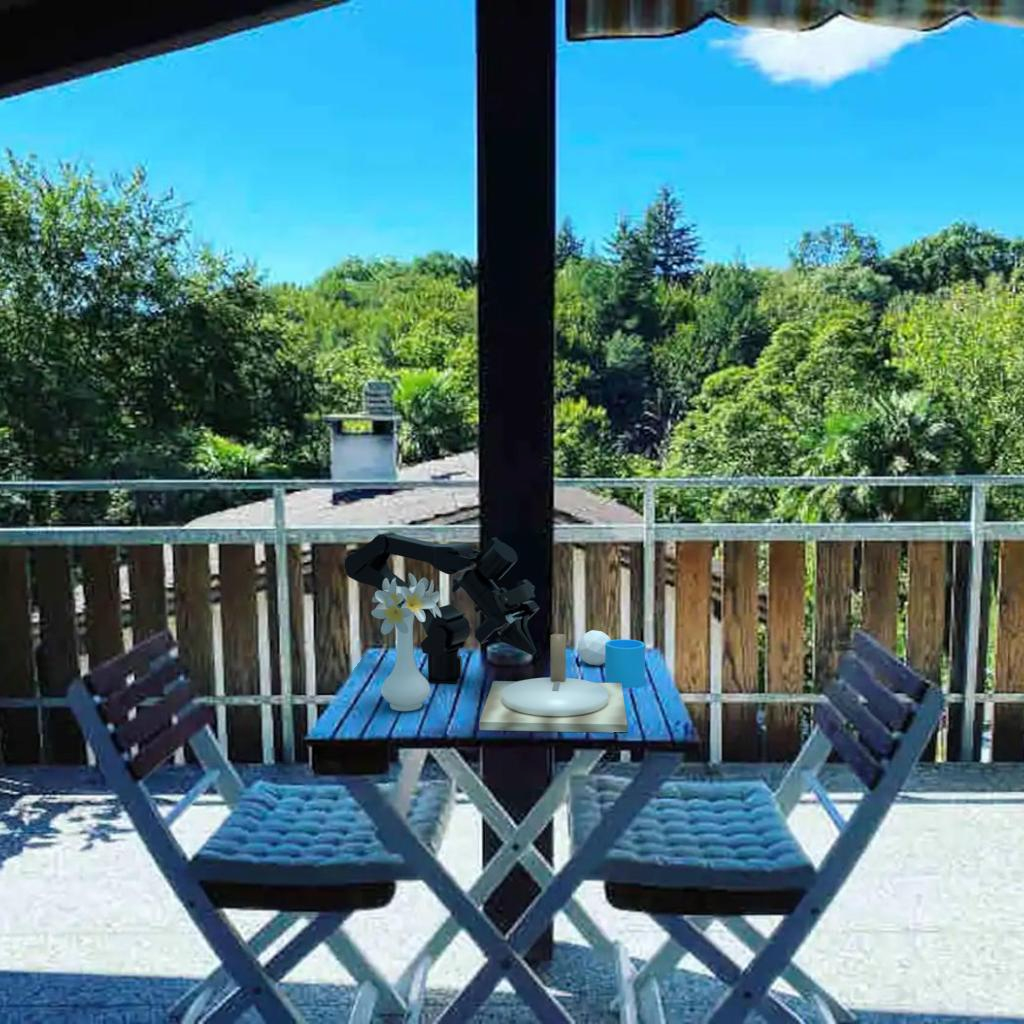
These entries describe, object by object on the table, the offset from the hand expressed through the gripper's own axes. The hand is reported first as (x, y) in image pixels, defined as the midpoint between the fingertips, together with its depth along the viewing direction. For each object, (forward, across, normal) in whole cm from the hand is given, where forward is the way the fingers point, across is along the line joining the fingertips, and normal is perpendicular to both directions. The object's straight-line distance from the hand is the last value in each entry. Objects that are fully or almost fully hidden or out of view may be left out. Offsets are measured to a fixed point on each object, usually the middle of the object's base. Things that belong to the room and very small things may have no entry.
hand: (534, 653), depth 193 cm
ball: (+8, +26, +4) cm, 27 cm away
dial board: (+11, -8, 0) cm, 14 cm away
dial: (+10, -7, -1) cm, 13 cm away
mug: (+15, +17, -3) cm, 23 cm away
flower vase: (-6, -19, +18) cm, 27 cm away
